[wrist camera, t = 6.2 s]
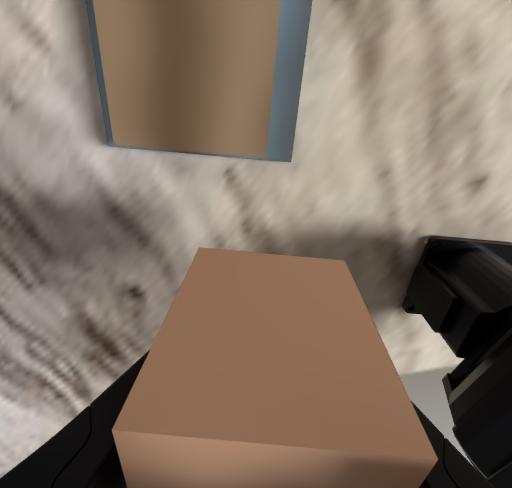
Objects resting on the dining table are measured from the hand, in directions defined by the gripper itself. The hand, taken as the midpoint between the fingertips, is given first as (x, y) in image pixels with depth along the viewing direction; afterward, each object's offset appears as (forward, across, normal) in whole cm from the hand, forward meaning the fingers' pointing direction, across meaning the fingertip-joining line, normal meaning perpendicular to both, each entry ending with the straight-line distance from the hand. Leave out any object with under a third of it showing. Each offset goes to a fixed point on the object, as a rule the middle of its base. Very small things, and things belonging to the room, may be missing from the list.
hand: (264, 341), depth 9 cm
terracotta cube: (+2, 0, 0) cm, 2 cm away
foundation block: (+11, +4, -10) cm, 15 cm away
